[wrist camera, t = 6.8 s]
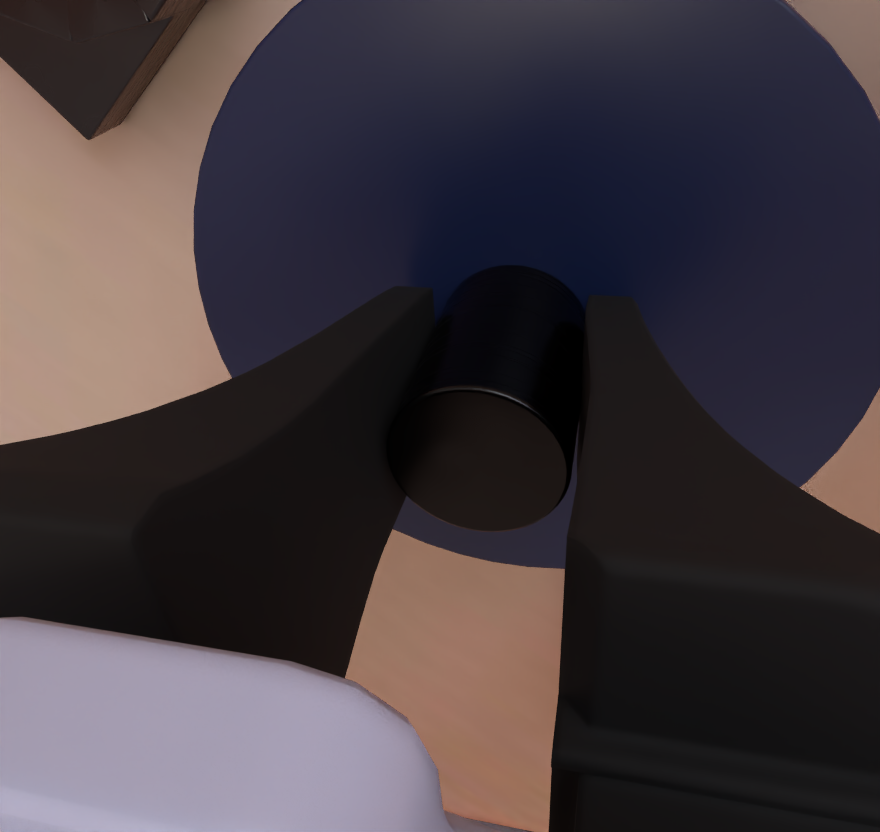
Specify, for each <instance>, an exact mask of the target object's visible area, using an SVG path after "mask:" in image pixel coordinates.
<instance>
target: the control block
mask: <svg viewBox="0 0 880 832" xmlns="http://www.w3.org/2000/svg"><path fill="white" fill-rule="evenodd" d="M205 2H206V0H0V57H1V58H2V59H3V60H4V61H5V62H6V63H7V64H8V65H9V66H11V67H12V68H13V69H14V70H15V71H16V72H17V73H18V74H19V75H20V76H21V77H22V78H23V79H24V80H25V81H26V82H27V83H28V84H29V85H30V86H32V87H33V88H34V89H35V90H36V91H37V92H38V93H39V94H40V95H41V96H42V97H43V98H44V99H45V100H46V101H47V102H48V103H49V104H50V105H51V106H53V107H54V108H55V109H56V110H57V111H58V112H59V113H60V114H61V115H62V116H63V117H64V118H65V119H66V120H67V121H68V122H69V123H70V124H71V125H72V126H74V127H75V128H76V129H77V130H78V131H79V132H80V133H81V134H82V135H83V136H84V137H85V138H86V139H88V140H91V139H93V138H95V137H97V136H98V135H100V134H102V133H104V132H106V131H108V130H110V129H112V128H114V127H116V126H118V125H120V124H121V122H122V121H123V119H124V118H125V116H126V115H127V114H128V112H129V111H130V109H131V108H132V106H133V105H134V103H135V102H136V101H137V99H138V98H139V96H140V95H141V93H142V92H143V91H144V89H145V88H146V86H147V85H148V83H149V82H150V81H151V79H152V78H153V76H154V75H155V73H156V72H157V70H158V69H159V68H160V66H161V65H162V63H163V62H164V60H165V59H166V58H167V56H168V55H169V53H170V52H171V50H172V49H173V48H174V46H175V45H176V43H177V42H178V40H179V39H180V38H181V36H182V35H183V33H184V32H185V30H186V29H187V27H188V26H189V25H190V23H191V22H192V20H193V19H194V17H195V16H196V15H197V13H198V12H199V10H200V9H201V7H202V6H203V5H204V3H205Z"/></svg>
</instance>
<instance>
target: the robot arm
mask: <svg viewBox="0 0 880 832" xmlns="http://www.w3.org/2000/svg"><path fill="white" fill-rule="evenodd" d="M434 329H435V314H434V301H433V288H428V287H406V286H394V287H392V288H390V289H388V290H386V291H384V292H383V293H381V294H379V295H378V296H376V297H374V298H373V299H371V300H369V301H368V302H366V303H365V304H363V305H362V306H360V307H358V308H357V309H355V310H354V311H352V312H351V313H349V314H347V315H346V316H344V317H343V318H341V319H339V320H338V321H336V322H335V323H333V324H332V325H330V326H328V327H327V328H325V329H324V330H322V331H320V332H319V333H317V334H316V335H314V336H312V337H310V338H309V339H307V340H305V341H303V342H302V343H300V344H298V345H296V346H294V347H293V348H291V349H289V350H287V351H286V352H284V353H282V354H280V355H279V356H277V357H275V358H273V359H271V360H270V361H268V362H266V363H264V364H262V365H260V366H258V367H256V368H254V369H252V370H250V371H248V372H246V373H243V374H241V375H239V376H237V377H234V378H232V379H230V380H228V381H225V382H223V383H221V384H219V385H216V386H214V387H212V388H209V389H207V390H204V391H202V392H199V393H196V394H193V395H190V396H187V397H185V398H182V399H179V400H176V401H173V402H170V403H168V404H165V405H162V406H159V407H156V408H153V409H151V410H148V411H145V412H141V413H138V414H135V415H131V416H128V417H124V418H121V419H117V420H114V421H110V422H106V423H102V424H98V425H94V426H90V427H86V428H82V429H79V430H74V431H70V432H66V433H61V434H57V435H52V436H47V437H41V438H36V439H31V440H25V441H20V442H15V443H9V444H4V445H0V832H532V831H527V830H522V829H517V828H512V827H507V826H502V825H497V824H492V823H487V822H482V821H478V820H473V819H468V818H464V817H461V816H458V815H456V814H453V813H450V812H447V811H445V810H443V806H442V798H441V790H440V783H439V775H438V769H437V768H436V766H435V764H434V762H433V761H432V759H431V757H430V755H429V754H428V752H427V750H426V748H425V747H424V745H423V743H422V741H421V740H420V738H419V736H418V734H417V733H416V731H415V729H414V728H413V726H412V725H411V723H410V722H409V720H408V719H407V717H405V716H404V715H403V714H401V713H400V712H398V711H397V710H395V709H394V708H392V707H391V706H390V705H388V704H387V703H385V702H384V701H382V700H381V699H380V698H378V697H377V696H375V695H374V694H372V693H371V692H369V691H368V690H367V689H365V688H364V687H362V686H361V685H359V684H358V683H356V682H354V681H351V680H348V679H345V676H346V672H347V668H348V665H349V661H350V657H351V654H352V650H353V646H354V643H355V639H356V636H357V632H358V628H359V625H360V621H361V618H362V615H363V611H364V608H365V604H366V601H367V598H368V594H369V591H370V588H371V584H372V581H373V577H374V574H375V571H376V569H377V566H378V563H379V560H380V558H381V555H382V552H383V550H384V547H385V545H386V543H387V540H388V538H389V536H390V533H391V531H392V529H393V526H394V524H395V522H396V519H397V517H398V515H399V512H400V510H401V508H402V505H403V503H404V501H405V498H406V496H407V495H406V494H405V493H404V492H403V491H402V489H401V488H400V487H399V485H398V484H397V482H396V480H395V479H394V477H393V475H392V472H391V470H390V467H389V463H388V460H387V453H386V438H387V434H388V430H389V427H390V425H391V422H392V420H393V418H394V416H395V414H396V411H397V409H398V407H399V405H400V403H401V401H402V398H403V396H404V394H405V392H406V390H407V388H408V385H409V383H410V381H411V379H412V377H413V375H414V372H415V370H416V368H417V366H418V364H419V362H420V359H421V357H422V355H423V353H424V351H425V349H426V346H427V344H428V342H429V340H430V338H431V335H432V333H433V331H434ZM551 767H552V776H551V797H550V818H549V832H880V534H879V533H877V532H875V531H873V530H871V529H869V528H867V527H865V526H864V525H862V524H860V523H858V522H856V521H854V520H852V519H850V518H848V517H846V516H844V515H842V514H841V513H839V512H837V511H836V510H834V509H832V508H831V507H829V506H827V505H826V504H824V503H823V502H821V501H819V500H818V499H816V498H815V497H813V496H811V495H810V494H808V493H807V492H805V491H803V490H802V489H800V488H799V487H797V486H796V485H794V484H793V483H791V482H790V481H788V480H787V479H786V478H784V477H783V476H781V475H780V474H778V473H777V472H776V471H774V470H773V469H771V468H770V467H769V466H768V465H766V464H765V463H764V462H763V461H761V460H760V459H759V458H757V457H756V456H755V455H754V454H752V453H751V452H750V451H748V450H747V449H746V448H745V447H743V446H742V445H741V444H740V443H739V442H738V441H736V440H735V439H734V438H733V437H732V436H731V435H730V434H728V433H727V432H726V431H725V430H724V429H723V428H722V427H721V426H720V425H719V424H718V423H717V422H716V421H715V420H714V419H713V418H712V417H711V416H710V415H709V414H708V413H707V412H706V411H705V409H704V408H703V407H702V406H701V405H700V404H699V402H698V401H697V400H696V399H695V398H694V396H693V395H692V394H691V393H690V391H689V390H688V389H687V388H686V386H685V385H684V384H683V383H682V381H681V380H680V378H679V377H678V376H677V374H676V373H675V372H674V370H673V369H672V367H671V366H670V364H669V363H668V361H667V360H666V358H665V357H664V355H663V353H662V352H661V350H660V349H659V347H658V346H657V344H656V342H655V340H654V339H653V337H652V335H651V333H650V331H649V329H648V328H647V326H646V324H645V322H644V319H643V317H642V315H641V312H640V310H639V307H638V304H637V303H636V302H635V300H634V299H633V298H632V297H625V296H603V295H589V298H588V302H587V306H586V311H585V327H584V344H583V361H582V390H581V408H580V415H579V430H578V447H577V485H576V491H575V497H574V502H573V507H572V513H571V518H570V523H569V528H568V533H567V543H566V562H565V581H564V600H563V619H562V639H561V658H560V677H559V695H558V704H557V712H556V721H555V730H554V739H553V748H552V759H551Z"/></svg>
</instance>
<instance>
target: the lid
mask: <svg viewBox="0 0 880 832" xmlns="http://www.w3.org/2000/svg"><path fill="white" fill-rule="evenodd" d="M194 255H195V262H196V270H197V277H198V285H199V291H200V294H201V298H202V302H203V306H204V309H205V313H206V317H207V321H208V325H209V327H210V330H211V332H212V335H213V337H214V340H215V342H216V345H217V347H218V350H219V353H220V355H221V358H222V360H223V362H224V364H225V365H226V367H227V369H228V371H229V373H230V375H231V377H232V378H234V377H237V376H239V375H241V374H243V373H246V372H248V371H250V370H252V369H254V368H256V367H258V366H260V365H262V364H264V363H266V362H268V361H270V360H271V359H273V358H275V357H277V356H279V355H280V354H282V353H284V352H286V351H287V350H289V349H291V348H293V347H294V346H296V345H298V344H300V343H302V342H303V341H305V340H307V339H309V338H310V337H312V336H314V335H316V334H317V333H319V332H320V331H322V330H324V329H325V328H327V327H328V326H330V325H332V324H333V323H335V322H336V321H338V320H339V319H341V318H343V317H344V316H346V315H347V314H349V313H351V312H352V311H354V310H355V309H357V308H358V307H360V306H362V305H363V304H365V303H366V302H368V301H369V300H371V299H373V298H374V297H376V296H378V295H379V294H381V293H383V292H384V291H386V290H388V289H390V288H392V287H394V286H406V287H428V288H433V301H434V314H435V329H434V331H433V333H432V335H431V338H430V340H429V342H428V344H427V346H426V349H425V351H424V353H423V355H422V357H421V359H420V362H419V364H418V366H417V368H416V370H415V372H414V375H413V377H412V379H411V381H410V383H409V385H408V388H407V390H406V392H405V394H404V396H403V398H402V401H401V403H400V405H399V407H398V409H397V411H396V414H395V416H394V418H393V420H392V422H391V425H390V427H389V430H388V434H387V438H386V453H387V460H388V463H389V467H390V470H391V472H392V475H393V477H394V479H395V480H396V482H397V484H398V485H399V487H400V488H401V489H402V491H403V492H404V493H405V494H406V495H407V496H406V498H405V501H404V503H403V505H402V508H401V510H400V512H399V515H398V517H397V519H396V522H395V524H394V526H393V529H394V530H397V531H399V532H401V533H404V534H406V535H408V536H411V537H413V538H415V539H418V540H420V541H422V542H425V543H427V544H430V545H433V546H436V547H439V548H442V549H446V550H449V551H452V552H455V553H458V554H462V555H466V556H470V557H474V558H479V559H483V560H487V561H492V562H498V563H505V564H512V565H519V566H526V567H541V568H560V569H565V562H566V543H567V533H568V528H569V523H570V518H571V513H572V507H573V502H574V497H575V491H576V485H577V447H578V430H579V415H580V408H581V390H582V361H583V344H584V327H585V311H586V306H587V302H588V298H589V295H603V296H625V297H632V298H633V299H634V300H635V302H636V303H637V304H638V307H639V310H640V312H641V315H642V317H643V319H644V322H645V324H646V326H647V328H648V329H649V331H650V333H651V335H652V337H653V339H654V340H655V342H656V344H657V346H658V347H659V349H660V350H661V352H662V353H663V355H664V357H665V358H666V360H667V361H668V363H669V364H670V366H671V367H672V369H673V370H674V372H675V373H676V374H677V376H678V377H679V378H680V380H681V381H682V383H683V384H684V385H685V386H686V388H687V389H688V390H689V391H690V393H691V394H692V395H693V396H694V398H695V399H696V400H697V401H698V402H699V404H700V405H701V406H702V407H703V408H704V409H705V411H706V412H707V413H708V414H709V415H710V416H711V417H712V418H713V419H714V420H715V421H716V422H717V423H718V424H719V425H720V426H721V427H722V428H723V429H724V430H725V431H726V432H727V433H728V434H730V435H731V436H732V437H733V438H734V439H735V440H736V441H738V442H739V443H740V444H741V445H742V446H743V447H745V448H746V449H747V450H748V451H750V452H751V453H752V454H754V455H755V456H756V457H757V458H759V459H760V460H761V461H763V462H764V463H765V464H766V465H768V466H769V467H770V468H771V469H773V470H774V471H776V472H777V473H778V474H780V475H781V476H783V477H784V478H786V479H787V480H788V481H790V482H791V483H793V484H794V485H796V486H797V487H801V486H802V485H803V484H805V483H806V482H807V481H808V480H809V479H810V478H811V477H812V476H813V475H814V474H815V473H816V472H817V471H818V470H819V469H820V468H821V467H822V466H823V465H824V464H825V463H826V462H827V461H828V460H829V459H830V458H831V457H832V456H833V455H834V454H835V453H836V452H837V451H838V450H839V448H840V447H841V446H842V444H843V443H844V442H845V441H846V439H847V438H848V437H849V435H850V434H851V433H852V431H853V430H854V429H855V427H856V426H857V425H858V424H859V422H860V421H861V420H862V418H863V416H864V415H865V413H866V411H867V409H868V408H869V406H870V404H871V402H872V400H873V399H874V397H875V395H876V393H877V392H878V390H879V388H880V120H879V118H878V116H877V114H876V112H875V110H874V108H873V106H872V104H871V102H870V100H869V98H868V96H867V94H866V92H865V91H864V89H863V88H862V87H861V85H860V84H859V83H858V81H857V80H856V79H855V77H854V76H853V74H852V73H851V72H850V70H849V69H848V68H847V66H846V65H845V64H844V62H843V61H842V60H841V58H840V57H839V56H838V54H837V53H836V51H835V50H834V49H833V47H832V46H831V45H830V44H829V43H828V41H827V40H826V39H825V38H824V37H823V36H822V35H821V34H820V33H819V32H818V31H817V30H815V29H814V28H813V27H812V26H811V25H810V24H809V23H808V22H807V21H806V20H805V19H804V18H803V17H802V16H801V15H800V14H799V13H798V12H797V11H796V10H795V9H794V8H793V7H792V6H791V5H790V4H788V3H787V2H786V1H785V0H302V1H301V2H299V3H298V4H297V5H296V6H294V7H293V8H292V9H291V10H290V11H289V12H288V13H287V14H286V15H285V16H284V17H283V18H282V19H281V21H280V22H279V23H278V24H277V25H276V26H275V27H274V28H273V29H272V30H271V31H270V33H269V34H268V35H267V36H266V37H265V38H264V39H263V40H262V41H261V42H260V43H259V45H258V46H257V47H256V48H255V50H254V51H253V53H252V54H251V56H250V57H249V59H248V60H247V62H246V63H245V65H244V66H243V68H242V69H241V71H240V72H239V74H238V75H237V77H236V79H235V80H234V82H233V83H232V85H231V86H230V88H229V91H228V93H227V95H226V97H225V99H224V101H223V104H222V106H221V108H220V110H219V112H218V114H217V117H216V119H215V121H214V123H213V125H212V128H211V131H210V135H209V138H208V142H207V145H206V148H205V152H204V155H203V159H202V162H201V166H200V170H199V177H198V184H197V191H196V199H195V206H194Z"/></svg>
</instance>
